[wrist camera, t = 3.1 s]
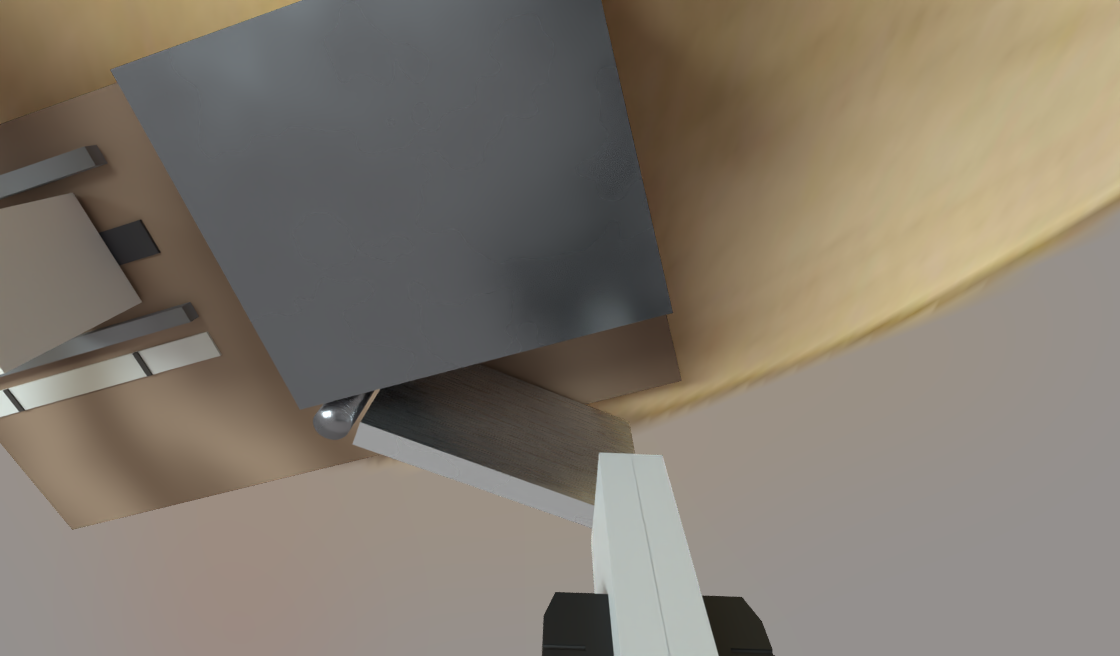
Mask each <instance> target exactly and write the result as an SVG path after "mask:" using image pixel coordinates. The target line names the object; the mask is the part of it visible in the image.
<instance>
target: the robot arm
mask: <svg viewBox="0 0 1120 656" xmlns="http://www.w3.org/2000/svg"><path fill="white" fill-rule="evenodd" d="M591 546H592V561H593V576H594V590H595V594H594V593H565V592H555V594H554V596H553V598H552V600H551V602H550V604H549V606H548V608H547V610H546V612H545V614H544V623H543V644H542V656H775V655H773V653H772V647H771V645H770V642H769V639H768V636H767V634H766V631H765V629H764V626H763V623H762V621H761V620H760V619H759V617H758V616H757V615H756V614H755V612H754V611H753V610H752V609H751V608H750V607H749V605H748V604H747V603H746V602H745V600H744V599H743V598H742V597H725V596H702V595H701V591H700V587H699V584H698V580H697V576H696V573H695V569H694V566H693V562H692V559H691V555H690V552H689V548H688V544H687V541H686V537H685V533H684V530H683V526H682V523H681V519H680V516H679V512H678V509H677V505H676V501H675V498H674V494H673V490H672V487H671V483H670V480H669V477H668V472H667V469H666V465H665V462H664V458H663V455H650V454H625V453H600V452H599V460H598V471H597V482H596V493H595V505H594V516H593V527H592V539H591Z"/></svg>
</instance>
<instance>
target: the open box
mask: <svg viewBox="0 0 1120 656" xmlns="http://www.w3.org/2000/svg"><path fill="white" fill-rule="evenodd" d="M111 72H112V74H113V76H114V77H115V79H116V81H117V83H118V85H119V86H120V88H121V90H122V92H123V93H124V95H125V97H126V99H127V101H128V102H129V104H130V106H131V108H132V110H133V111H134V113H135V115H136V117H137V119H138V120H139V122H140V124H141V126H142V128H143V129H144V131H145V133H146V135H147V137H148V138H149V140H150V142H151V144H152V145H153V147H154V149H155V151H156V153H157V154H158V156H159V158H160V160H161V162H162V163H163V165H164V167H165V169H166V171H167V172H168V174H169V176H170V178H171V180H172V181H173V183H174V185H175V187H176V188H177V190H178V192H179V194H180V196H181V197H182V199H183V201H184V203H185V205H186V206H187V208H188V210H189V212H190V214H191V215H192V217H193V219H194V221H195V223H196V224H197V226H198V228H199V230H200V232H201V233H202V235H203V237H204V239H205V240H206V242H207V244H208V246H209V248H210V249H211V251H212V253H213V255H214V257H215V258H216V260H217V262H218V264H219V266H220V267H221V269H222V271H223V273H224V275H225V276H226V278H227V280H228V282H229V283H230V285H231V287H232V289H233V291H234V292H235V294H236V296H237V298H238V300H239V301H240V303H241V305H242V307H243V309H244V310H245V312H246V314H247V316H248V318H249V319H250V321H251V323H252V325H253V327H254V328H255V330H256V332H257V334H258V335H259V337H260V339H261V341H262V343H263V344H264V346H265V348H266V350H267V352H268V353H269V355H270V357H271V359H272V361H273V362H274V364H275V366H276V368H277V370H278V371H279V373H280V375H281V377H282V378H283V380H284V382H285V384H286V386H287V387H288V389H289V391H290V393H291V395H292V396H293V398H294V400H295V402H296V404H297V405H298V407H299V409H300V410H301V409H305V408H309V407H313V406H317V405H320V404H324V403H328V402H332V401H336V400H340V399H343V398H347V397H351V396H355V395H359V394H363V393H367V392H370V391H374V390H378V389H382V388H386V387H390V386H393V385H397V384H401V383H405V382H409V381H413V380H416V379H420V378H424V377H428V376H432V375H436V374H440V373H443V372H447V371H451V370H455V369H459V368H463V367H466V366H470V365H474V364H478V363H482V362H486V361H489V360H493V359H497V358H501V357H505V356H509V355H513V354H516V353H520V352H524V351H528V350H532V349H536V348H539V347H543V346H547V345H551V344H555V343H559V342H563V341H566V340H570V339H574V338H578V337H582V336H586V335H589V334H593V333H597V332H601V331H605V330H609V329H612V328H616V327H620V326H624V325H628V324H632V323H636V322H639V321H643V320H647V319H651V318H655V317H659V316H662V315H666V314H670V313H673V311H672V307H671V303H670V298H669V294H668V290H667V285H666V281H665V276H664V272H663V268H662V263H661V259H660V255H659V250H658V246H657V242H656V237H655V233H654V228H653V224H652V220H651V215H650V211H649V207H648V202H647V198H646V194H645V189H644V185H643V181H642V176H641V172H640V167H639V163H638V159H637V154H636V150H635V146H634V141H633V137H632V133H631V128H630V124H629V119H628V115H627V111H626V106H625V102H624V98H623V93H622V89H621V85H620V80H619V76H618V71H617V67H616V63H615V58H614V54H613V50H612V45H611V41H610V37H609V32H608V28H607V23H606V19H605V15H604V10H603V6H602V2H601V0H302V1H299V2H296V3H294V4H291V5H288V6H285V7H282V8H280V9H277V10H274V11H271V12H269V13H266V14H263V15H260V16H257V17H255V18H252V19H249V20H246V21H244V22H241V23H238V24H235V25H233V26H230V27H227V28H224V29H221V30H219V31H216V32H213V33H210V34H208V35H205V36H202V37H199V38H197V39H194V40H191V41H188V42H185V43H183V44H180V45H177V46H174V47H172V48H169V49H166V50H163V51H160V52H158V53H155V54H152V55H149V56H147V57H144V58H141V59H138V60H136V61H133V62H130V63H127V64H124V65H122V66H119V67H116V68H113V69H111Z"/></svg>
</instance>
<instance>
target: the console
mask: <svg viewBox="0 0 1120 656" xmlns="http://www.w3.org/2000/svg"><path fill="white" fill-rule="evenodd" d="M69 193H73V194H74V195H75V197H76V198H77V200H78V201H79V203H80V205H81V206H82V208H83V209H84V211H85V212H86V214H87V216H88V217H89V219H90V220H91V222H92V224H93V225H94V227H95V228H96V230H97V231H98V233H99V235H100V236H101V238H102V239H103V241H104V243H105V244H106V246H107V247H108V249H109V250H110V252H111V254H112V255H113V257H114V258H115V260H116V262H117V263H118V265H119V266H120V268H121V269H122V271H123V273H124V274H125V276H126V277H127V279H128V280H129V282H130V284H131V285H132V287H133V288H134V290H135V292H136V293H137V295H138V296H139V298H140V299H141V301H142V303H140V304H138V305H136V306H134V307H132V308H130V309H128V310H126V311H124V312H122V313H120V314H118V315H116V316H114V317H113V318H111V319H109V320H107V321H105V322H103V323H101V324H99V325H97V326H95V327H93V328H91V329H89V330H87V331H85V332H84V333H82V334H80V335H78V336H76V337H74V338H72V339H70V340H68V341H66V342H64V343H62V344H60V345H58V346H57V347H55V348H53V349H51V350H49V351H47V352H45V353H43V354H41V355H39V356H37V357H35V358H33V359H31V360H29V361H28V362H26V363H24V364H22V365H20V366H18V367H16V368H14V369H12V370H10V371H8V372H6V373H4V374H1V375H0V443H1V444H2V446H3V447H4V448H5V449H6V450H7V452H8V453H9V454H10V455H11V456H12V458H13V459H14V460H15V461H16V462H17V464H18V465H19V466H20V467H21V468H22V470H23V471H24V472H25V473H26V474H27V476H28V477H29V478H30V479H31V481H33V483H34V484H35V485H36V486H37V488H38V489H39V490H40V491H41V493H42V494H43V495H44V496H45V497H46V499H47V500H48V501H49V502H50V503H51V505H52V506H53V507H54V508H55V509H56V511H57V512H58V513H59V514H60V515H61V516H62V518H63V519H64V520H65V521H66V523H67V524H68V525H69V526H70V527H71V529H72V530H73V529H77V528H81V527H85V526H90V525H94V524H98V523H102V522H105V521H110V520H114V519H118V518H122V517H126V516H130V515H134V514H138V513H143V512H147V511H151V510H155V509H159V508H163V507H167V506H171V505H176V504H180V503H184V502H188V501H192V500H196V499H200V498H204V497H208V496H212V495H216V494H221V493H224V492H229V491H233V490H237V489H241V488H245V487H249V486H253V485H257V484H262V483H266V482H269V481H274V480H278V479H282V478H286V477H290V476H294V475H298V474H302V473H306V472H311V471H315V470H319V469H323V468H327V467H331V466H335V465H339V464H343V463H347V462H352V461H356V460H360V459H364V458H368V457H372V456H376V455H380V454H378V453H376V452H373V451H370V450H367V449H364V448H361V447H358V446H356V445H353V441H354V438H355V436H356V433H357V430H358V427H359V424H360V422H361V420H362V418H363V417H364V415H365V413H366V412H367V410H368V408H369V407H370V405H371V403H372V402H373V400H374V399H375V397H376V395H377V394H378V392H379V390H380V389H378V390H375V391H374V392H373V394H372V396H371V397H370V399H369V400H368V402H367V404H366V405H365V407H364V408H363V410H362V412H361V413H360V415H359V417H358V418H357V420H356V421H355V423H354V425H353V426H352V428H351V429H350V431H349V433H348V434H347V435H346V436H345V437H344V438H342V439H338V440H331V439H327V438H324V437H323V436H321V435H320V434H319V433H318V432H317V431H316V430H315V428H314V425H313V418H314V416H315V414H316V413H317V412H318V410H319V409H320V408H321V406H322V405H323V404H320V405H317V406H313V407H309V408H305V409H301V410H300V409H299V407H298V405H297V404H296V402H295V400H294V398H293V396H292V395H291V393H290V391H289V389H288V387H287V386H286V384H285V382H284V380H283V378H282V377H281V375H280V373H279V371H278V370H277V368H276V366H275V364H274V362H273V361H272V359H271V357H270V355H269V353H268V352H267V350H266V348H265V346H264V344H263V343H262V341H261V339H260V337H259V335H258V334H257V332H256V330H255V328H254V327H253V325H252V323H251V321H250V319H249V318H248V316H247V314H246V312H245V310H244V309H243V307H242V305H241V303H240V301H239V300H238V298H237V296H236V294H235V292H234V291H233V289H232V287H231V285H230V283H229V282H228V280H227V278H226V276H225V275H224V273H223V271H222V269H221V267H220V266H219V264H218V262H217V260H216V258H215V257H214V255H213V253H212V251H211V249H210V248H209V246H208V244H207V242H206V240H205V239H204V237H203V235H202V233H201V232H200V230H199V228H198V226H197V224H196V223H195V221H194V219H193V217H192V215H191V214H190V212H189V210H188V208H187V206H186V205H185V203H184V201H183V199H182V197H181V196H180V194H179V192H178V190H177V188H176V187H175V185H174V183H173V181H172V180H171V178H170V176H169V174H168V172H167V171H166V169H165V167H164V165H163V163H162V162H161V160H160V158H159V156H158V154H157V153H156V151H155V149H154V147H153V145H152V144H151V142H150V140H149V138H148V137H147V135H146V133H145V131H144V129H143V128H142V126H141V124H140V122H139V120H138V119H137V117H136V115H135V113H134V111H133V110H132V108H131V106H130V104H129V102H128V101H127V99H126V97H125V95H124V93H123V92H122V90H121V88H120V86H119V85H118V83H114V84H112V85H109V86H106V87H103V88H100V89H98V90H95V91H92V92H89V93H86V94H84V95H81V96H78V97H75V98H72V99H70V100H67V101H64V102H61V103H58V104H56V105H53V106H50V107H47V108H44V109H42V110H39V111H36V112H33V113H30V114H28V115H25V116H22V117H19V118H16V119H14V120H11V121H8V122H5V123H2V124H0V209H2V208H6V207H11V206H15V205H20V204H24V203H29V202H33V201H38V200H42V199H46V198H51V197H55V196H60V195H64V194H69ZM478 364H481V365H483V366H486V367H489V368H491V369H494V370H496V371H499V372H502V373H504V374H507V375H509V376H512V377H515V378H517V379H520V380H522V381H525V382H527V383H530V384H533V385H535V386H538V387H540V388H543V389H546V390H548V391H551V392H553V393H556V394H559V395H561V396H564V397H566V398H569V399H572V400H574V401H577V402H579V403H582V404H584V405H585V404H589V403H593V402H597V401H601V400H605V399H609V398H613V397H618V396H622V395H626V394H630V393H634V392H638V391H642V390H646V389H650V388H654V387H658V386H663V385H667V384H671V383H675V382H679V381H682V380H681V376H680V371H679V367H678V363H677V359H676V354H675V350H674V346H673V342H672V337H671V333H670V329H669V325H668V320H667V316H666V315H662V316H659V317H655V318H651V319H647V320H643V321H639V322H636V323H632V324H628V325H624V326H620V327H616V328H612V329H609V330H605V331H601V332H597V333H593V334H589V335H586V336H582V337H578V338H574V339H570V340H566V341H563V342H559V343H555V344H551V345H547V346H543V347H539V348H536V349H532V350H528V351H524V352H520V353H516V354H513V355H509V356H505V357H501V358H497V359H493V360H489V361H486V362H482V363H478Z"/></svg>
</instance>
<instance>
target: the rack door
mask: <svg viewBox="0 0 1120 656" xmlns="http://www.w3.org/2000/svg"><path fill="white" fill-rule="evenodd" d="M374 391H375V390H374ZM374 391H370V392H367V393H363V394H359V395H355V396H351V397H347V398H343V399H340V400H336V401H332V402H328V403H324V404H323V405H322V406H321V408H320V409H319V410H318V412H317V413H316V414H315V416H314V418H313V425H314V428H315V430H316V431H317V432H318V433H319V434H320V435H321V436H323V437H324V438H327V439H331V440H338V439H342V438H344V437H345V436H346V435H347V434H348V433H349V431H350V429H351V428H352V426H353V425H354V423H355V421H356V420H357V418H358V417H359V415H360V413H361V412H362V410H363V408H364V407H365V405H366V404H367V402H368V400H369V399H370V397H371V396H372V394H373V392H374ZM353 445H356V446H358V447H361V448H364V449H367V450H370V451H373V452H376V453H378V454H381V455H384V456H387V457H390V458H393V459H396V460H398V461H401V462H404V463H407V464H410V465H413V466H416V467H418V468H421V469H424V470H427V471H430V472H433V473H436V474H439V475H441V476H444V477H447V478H450V479H453V480H456V481H459V482H461V483H464V484H467V485H470V486H473V487H476V488H478V489H482V490H484V491H487V492H490V493H493V494H496V495H498V496H501V497H504V498H507V499H510V500H513V501H516V502H518V503H521V504H524V505H527V506H530V507H533V508H536V509H538V510H541V511H544V512H547V513H550V514H553V515H556V516H558V517H561V518H564V519H567V520H570V521H573V522H576V523H578V524H581V525H584V526H587V527H590V528H592V527H593V516H594V505H595V493H596V482H597V471H598V460H599V452H600V453H625V454H635V451H634V446H633V440H632V434H631V429H630V423H629V422H628V421H626V420H623V419H621V418H618V417H616V416H613V415H610V414H608V413H605V412H603V411H600V410H597V409H595V408H592V407H590V406H587V405H584V404H582V403H579V402H577V401H574V400H572V399H569V398H566V397H564V396H561V395H559V394H556V393H553V392H551V391H548V390H546V389H543V388H540V387H538V386H535V385H533V384H530V383H527V382H525V381H522V380H520V379H517V378H515V377H512V376H509V375H507V374H504V373H502V372H499V371H496V370H494V369H491V368H489V367H486V366H483V365H481V364H474V365H470V366H466V367H463V368H459V369H455V370H451V371H447V372H443V373H440V374H436V375H432V376H428V377H424V378H420V379H416V380H413V381H409V382H405V383H401V384H397V385H393V386H390V387H386V388H382V389H380V390H379V392H378V394H377V395H376V397H375V399H374V400H373V402H372V403H371V405H370V407H369V408H368V410H367V412H366V413H365V415H364V417H363V418H362V420H361V422H360V424H359V427H358V430H357V433H356V436H355V438H354V441H353Z"/></svg>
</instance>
